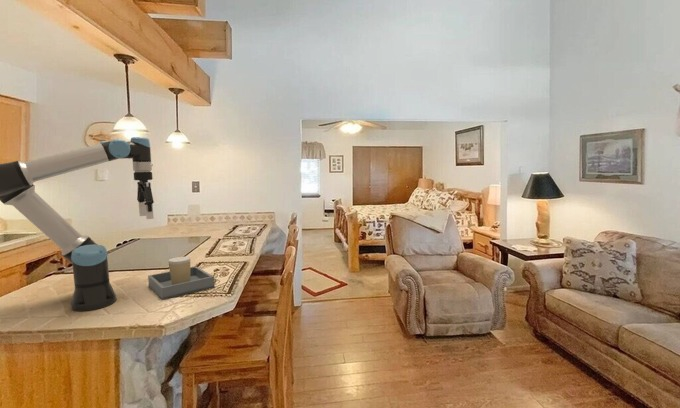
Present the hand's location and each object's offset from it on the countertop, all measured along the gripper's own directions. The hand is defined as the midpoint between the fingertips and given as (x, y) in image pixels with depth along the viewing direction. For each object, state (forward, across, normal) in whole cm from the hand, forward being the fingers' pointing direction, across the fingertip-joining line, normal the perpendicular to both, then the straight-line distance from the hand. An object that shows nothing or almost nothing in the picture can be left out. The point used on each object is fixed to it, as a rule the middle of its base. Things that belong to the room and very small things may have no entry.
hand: (146, 217), depth 168 cm
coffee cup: (+31, -15, -9) cm, 35 cm away
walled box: (+32, -15, -9) cm, 36 cm away
